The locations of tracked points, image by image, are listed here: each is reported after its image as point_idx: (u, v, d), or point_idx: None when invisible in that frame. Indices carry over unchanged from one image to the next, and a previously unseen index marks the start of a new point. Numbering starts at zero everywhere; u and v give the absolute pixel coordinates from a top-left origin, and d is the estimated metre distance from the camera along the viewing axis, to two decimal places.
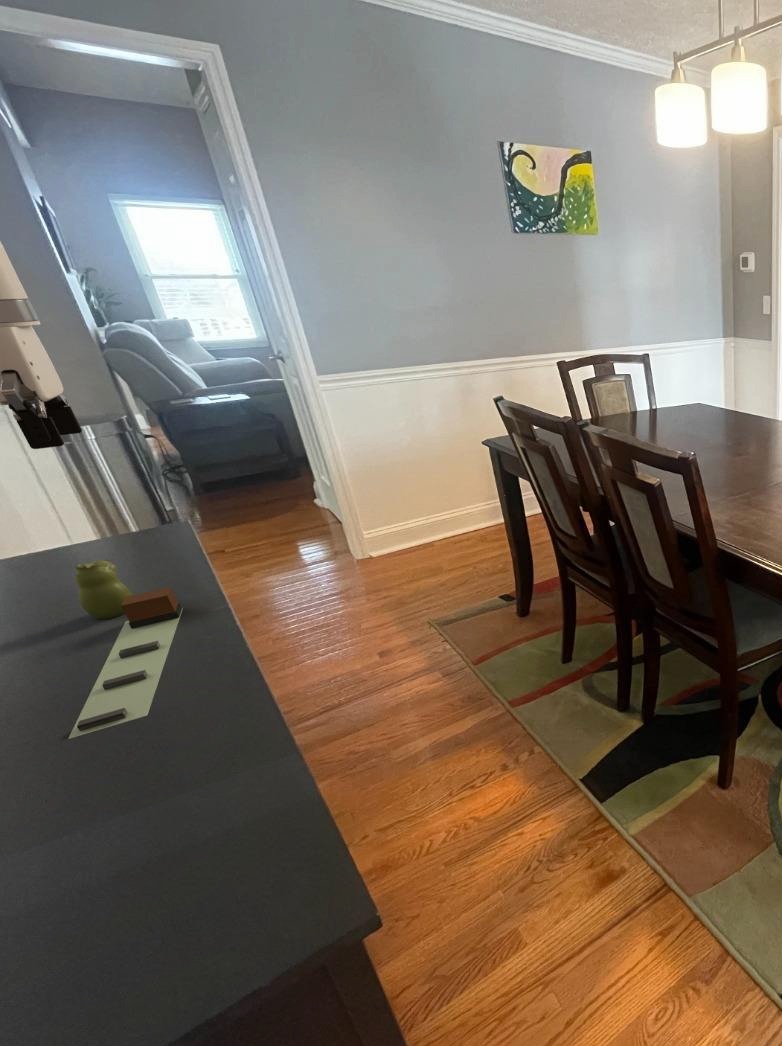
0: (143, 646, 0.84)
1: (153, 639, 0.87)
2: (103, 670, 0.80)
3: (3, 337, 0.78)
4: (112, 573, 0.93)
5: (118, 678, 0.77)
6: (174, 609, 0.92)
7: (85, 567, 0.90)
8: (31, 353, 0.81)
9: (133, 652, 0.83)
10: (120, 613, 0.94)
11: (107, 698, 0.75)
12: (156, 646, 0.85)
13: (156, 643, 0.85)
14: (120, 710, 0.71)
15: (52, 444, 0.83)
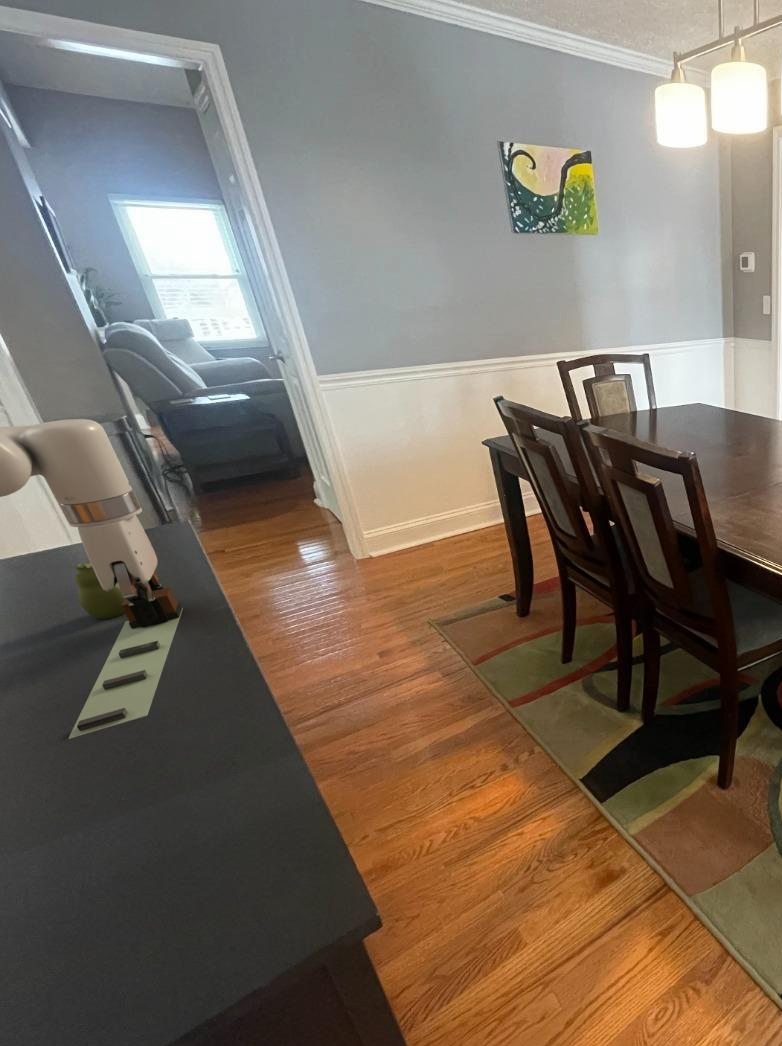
0: (143, 646, 0.84)
1: (153, 639, 0.87)
2: (103, 670, 0.80)
3: (112, 533, 0.83)
4: None
5: (118, 678, 0.77)
6: (174, 609, 0.92)
7: (85, 567, 0.90)
8: (135, 541, 0.86)
9: (133, 652, 0.83)
10: (120, 613, 0.94)
11: (107, 698, 0.75)
12: (156, 646, 0.85)
13: (156, 643, 0.85)
14: (120, 710, 0.71)
15: (158, 621, 0.91)
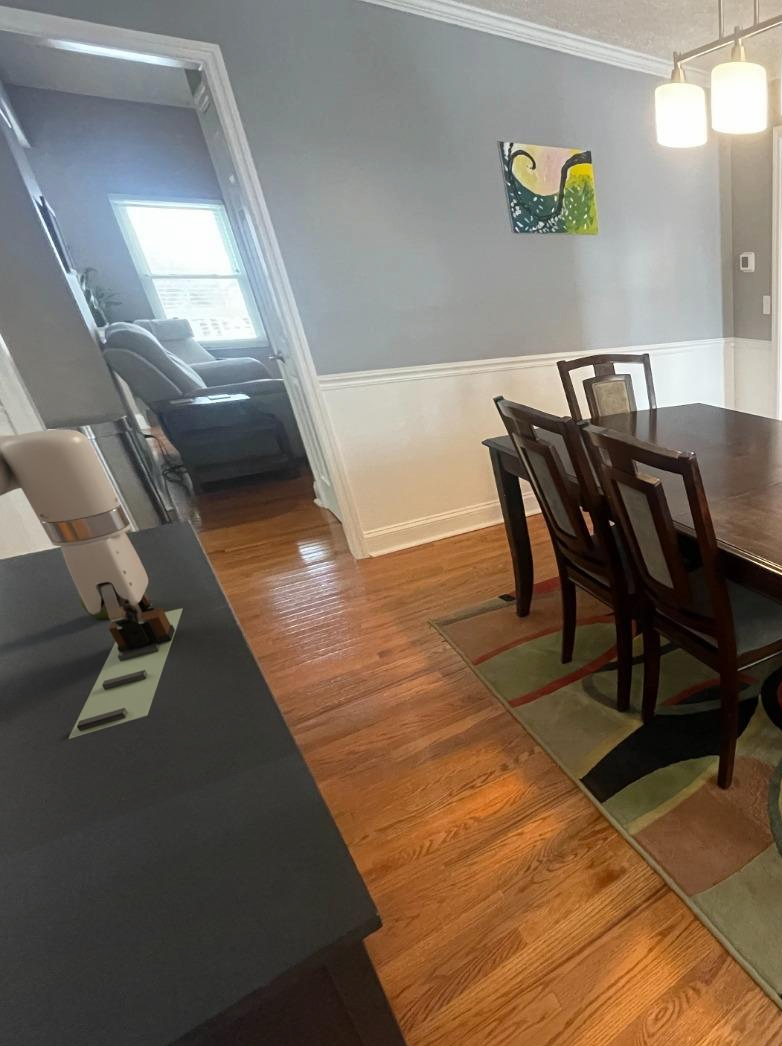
0: (142, 649, 0.83)
1: None
2: (103, 670, 0.80)
3: (99, 552, 0.77)
4: None
5: (118, 678, 0.77)
6: (166, 631, 0.86)
7: None
8: (124, 561, 0.80)
9: (132, 655, 0.83)
10: None
11: (107, 698, 0.75)
12: (156, 648, 0.84)
13: (156, 645, 0.84)
14: (120, 710, 0.71)
15: None
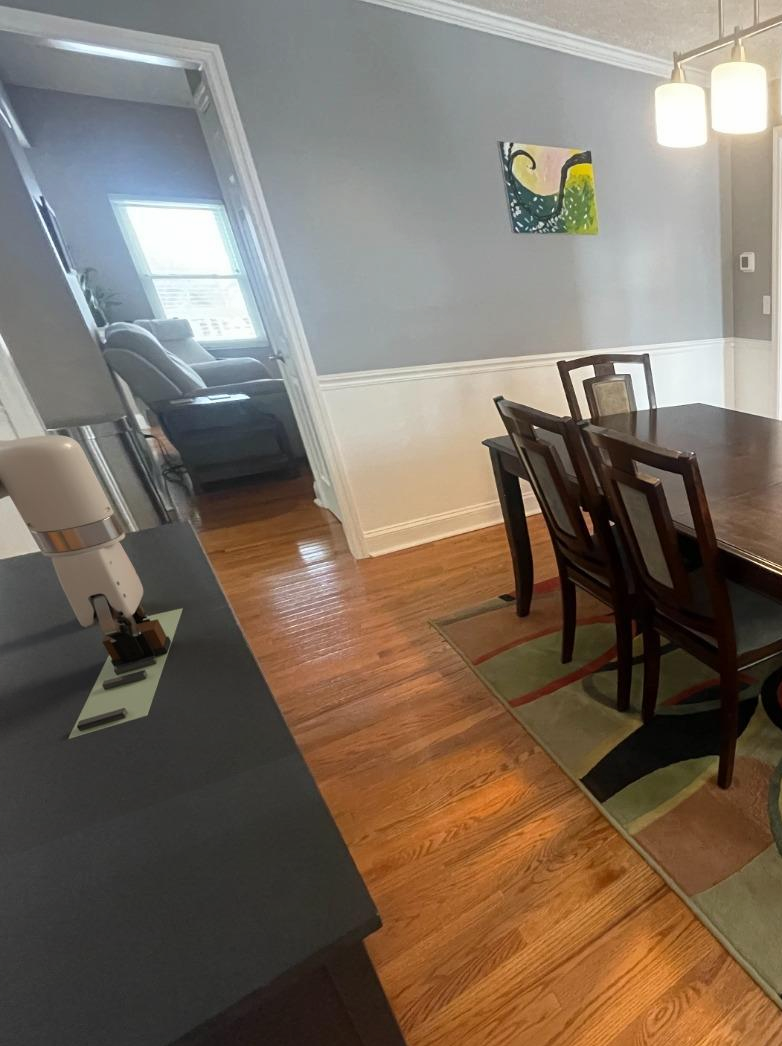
0: (140, 661, 0.81)
1: None
2: (103, 670, 0.80)
3: (91, 563, 0.74)
4: None
5: (118, 678, 0.77)
6: (162, 644, 0.83)
7: None
8: (117, 571, 0.77)
9: (129, 668, 0.80)
10: None
11: (107, 698, 0.75)
12: (153, 661, 0.81)
13: (153, 658, 0.81)
14: (120, 710, 0.71)
15: None
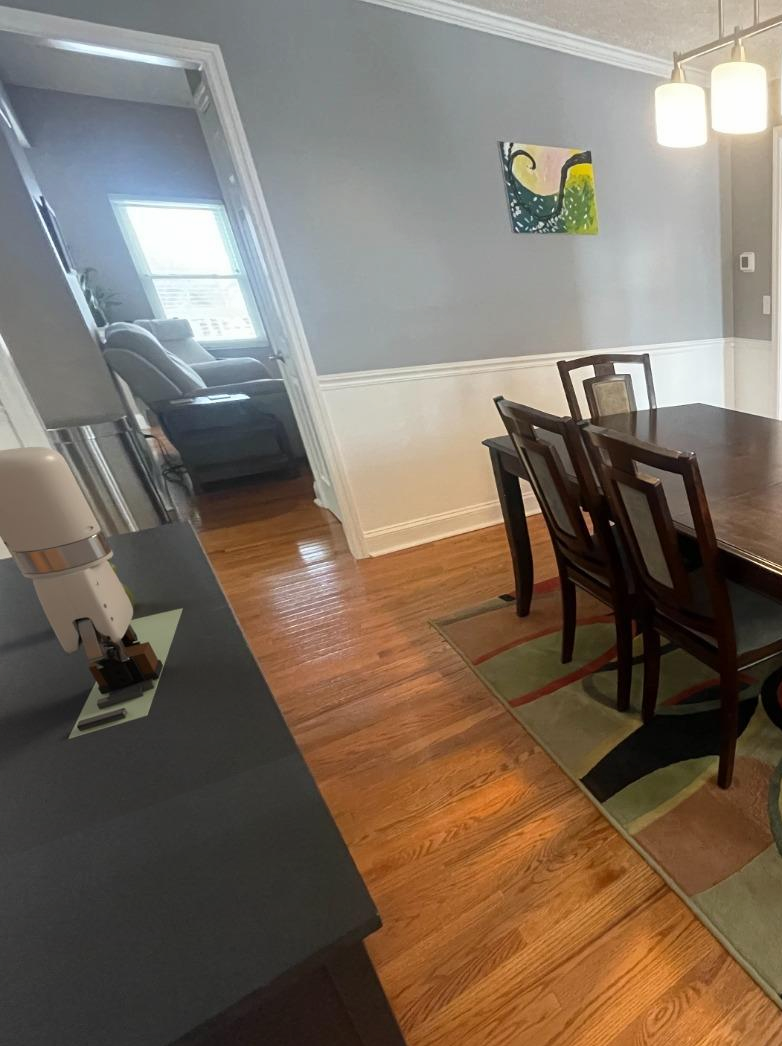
0: (136, 686, 0.76)
1: (153, 639, 0.87)
2: None
3: (75, 585, 0.69)
4: None
5: (113, 696, 0.74)
6: (153, 668, 0.78)
7: None
8: (104, 593, 0.72)
9: None
10: None
11: None
12: (151, 685, 0.76)
13: (151, 682, 0.76)
14: (120, 710, 0.71)
15: None
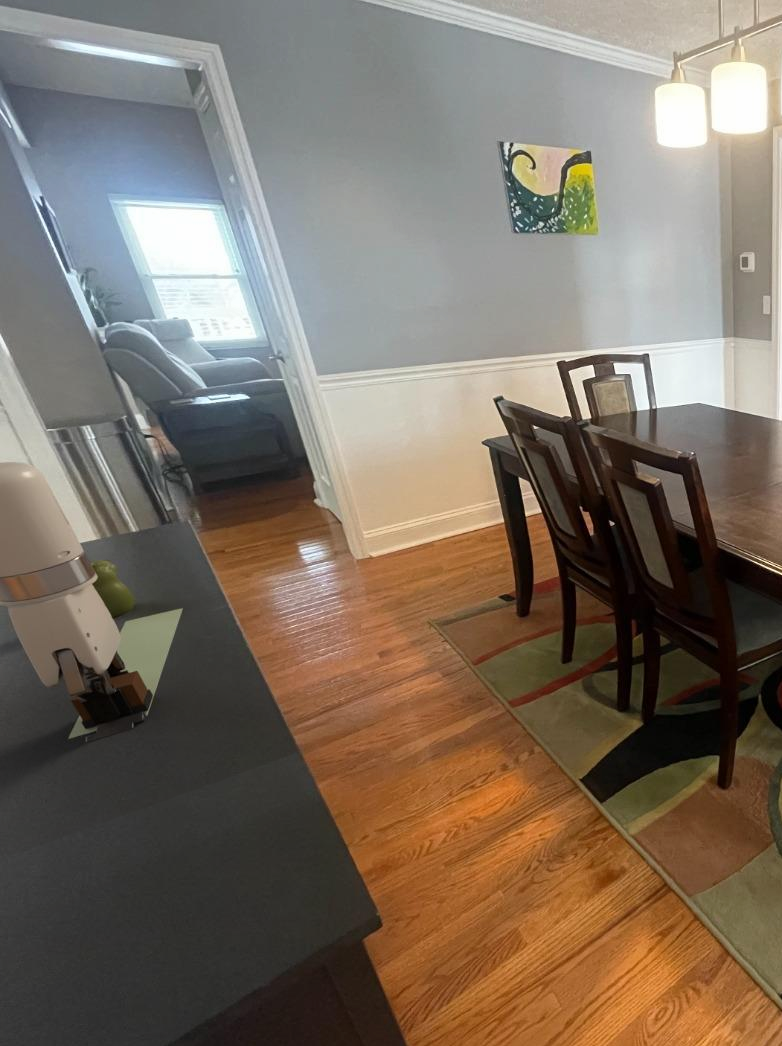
0: (126, 721, 0.70)
1: (153, 639, 0.87)
2: None
3: (55, 613, 0.63)
4: (112, 573, 0.93)
5: None
6: (142, 700, 0.72)
7: None
8: (88, 620, 0.66)
9: None
10: (120, 613, 0.94)
11: None
12: (143, 721, 0.71)
13: (142, 717, 0.71)
14: None
15: None
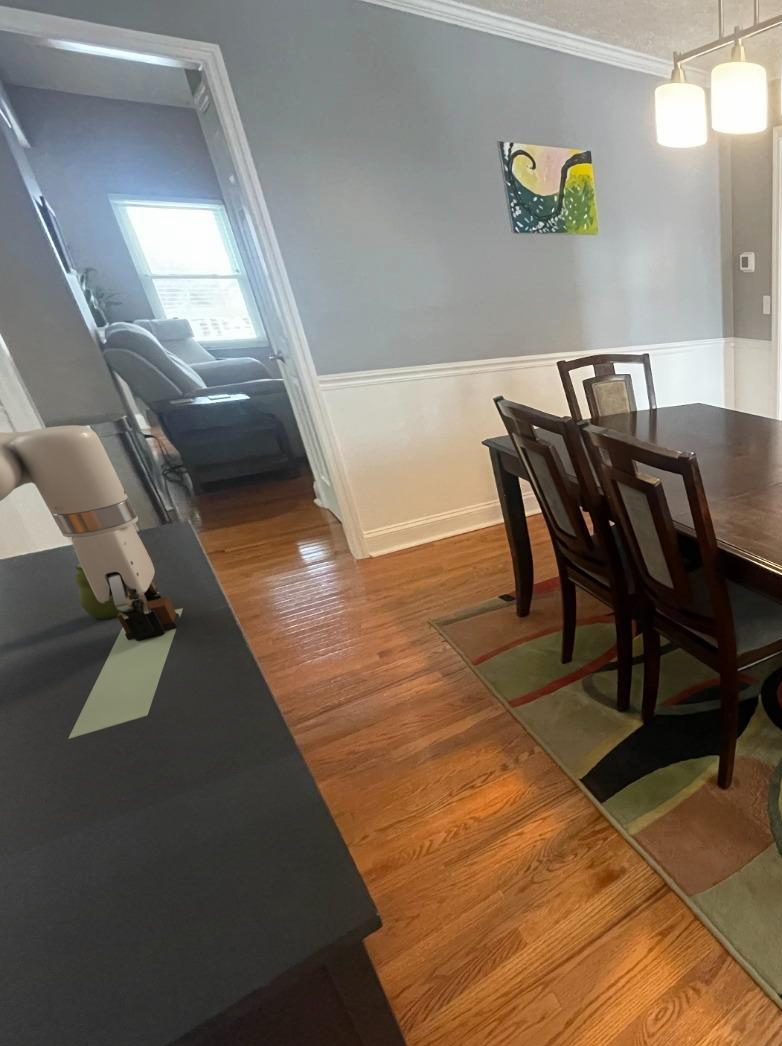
0: None
1: (153, 639, 0.87)
2: (103, 670, 0.80)
3: (107, 543, 0.80)
4: None
5: None
6: (172, 619, 0.90)
7: None
8: (131, 552, 0.83)
9: None
10: None
11: (107, 698, 0.75)
12: None
13: None
14: None
15: (154, 634, 0.88)
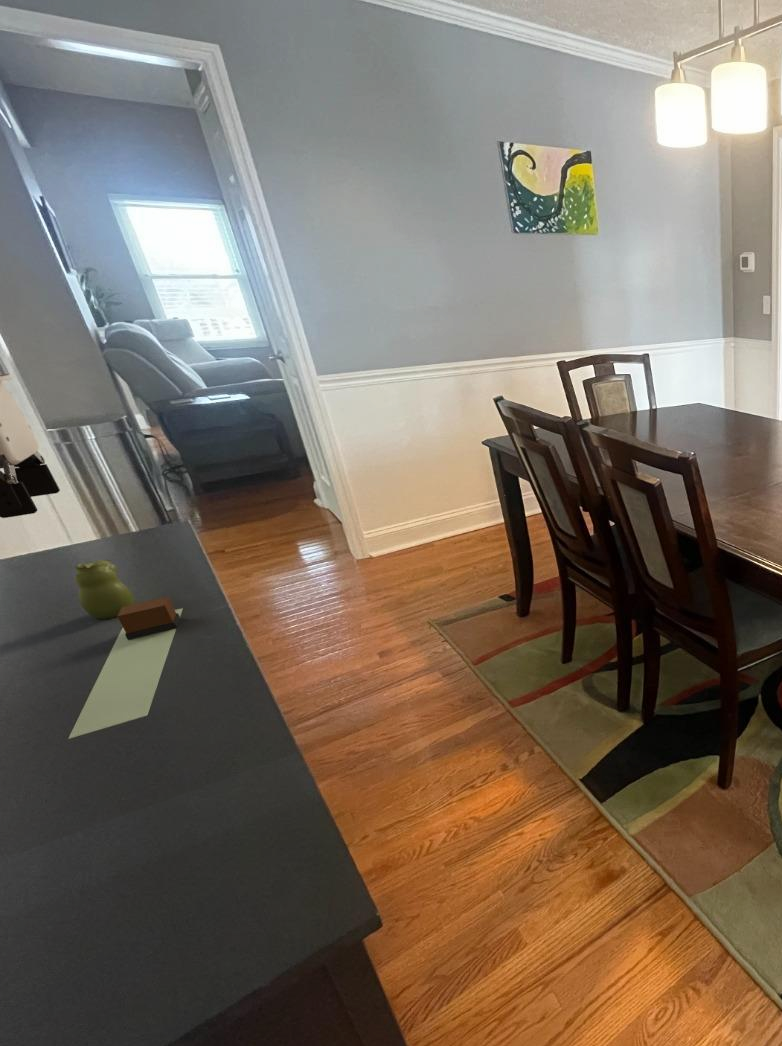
0: None
1: (153, 639, 0.87)
2: (103, 670, 0.80)
3: None
4: (112, 573, 0.93)
5: None
6: (172, 619, 0.90)
7: (85, 567, 0.90)
8: (0, 412, 0.72)
9: None
10: None
11: (107, 698, 0.75)
12: None
13: None
14: None
15: (24, 512, 0.75)
